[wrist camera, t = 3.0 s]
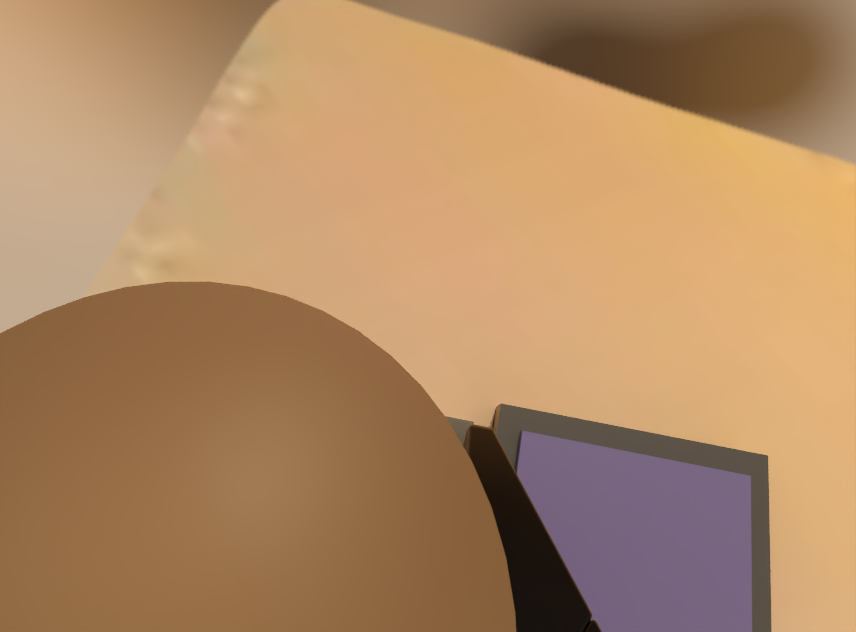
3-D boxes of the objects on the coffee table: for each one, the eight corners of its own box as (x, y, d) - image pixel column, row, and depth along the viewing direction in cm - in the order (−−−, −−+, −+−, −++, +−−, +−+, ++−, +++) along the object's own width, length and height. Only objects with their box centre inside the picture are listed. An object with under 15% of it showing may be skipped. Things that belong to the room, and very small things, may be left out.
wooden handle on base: (443, 576, 14) (584, 1736, 1) (299, 544, 14) (-748, 1252, 2) (468, 426, 15) (661, 274, 3) (335, 400, 15) (-78, 145, 3)
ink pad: (747, 762, 12) (783, 796, 11) (453, 693, 13) (455, 719, 12) (745, 455, 15) (775, 455, 13) (496, 407, 15) (502, 402, 14)
